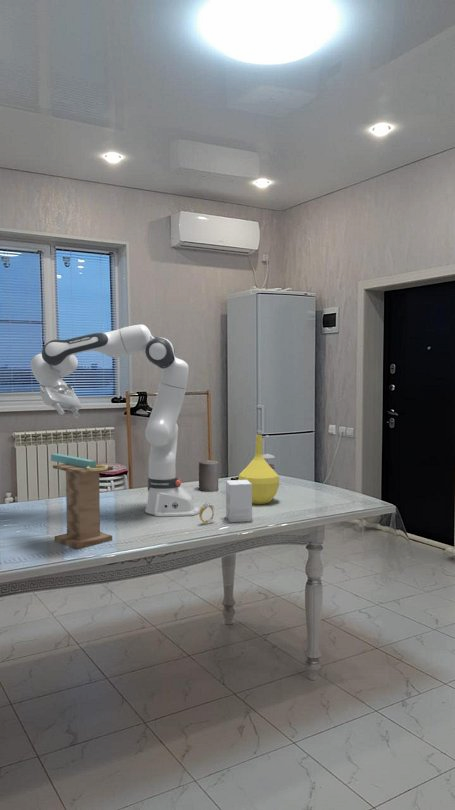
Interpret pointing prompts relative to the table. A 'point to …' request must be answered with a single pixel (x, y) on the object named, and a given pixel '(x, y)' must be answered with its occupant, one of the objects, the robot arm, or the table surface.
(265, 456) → the french press
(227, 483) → the supplement box
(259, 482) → the vase
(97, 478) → the stand
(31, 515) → the table surface
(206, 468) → the pillar candle
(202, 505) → the ring
